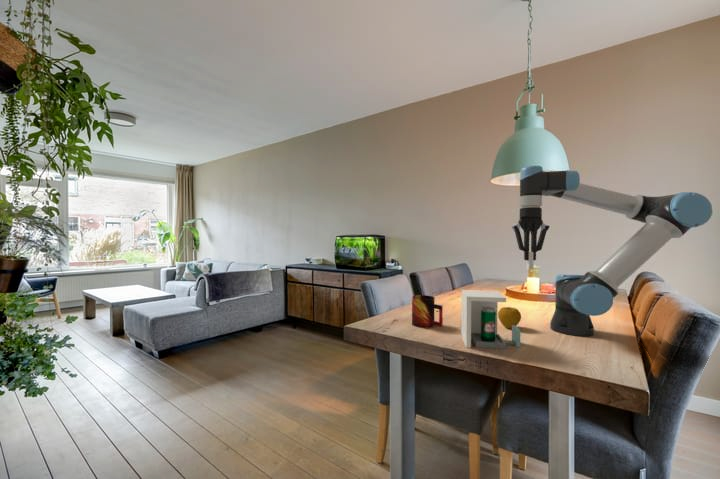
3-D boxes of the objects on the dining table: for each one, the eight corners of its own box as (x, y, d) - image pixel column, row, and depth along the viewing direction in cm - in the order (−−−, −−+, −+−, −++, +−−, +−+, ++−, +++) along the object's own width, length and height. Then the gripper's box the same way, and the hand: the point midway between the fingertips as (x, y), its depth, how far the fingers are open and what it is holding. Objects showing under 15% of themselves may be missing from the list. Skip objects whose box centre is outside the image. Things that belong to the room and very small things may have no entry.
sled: (513, 339, 123) (513, 323, 123) (522, 349, 113) (522, 332, 113) (471, 337, 126) (471, 321, 126) (476, 346, 116) (476, 330, 116)
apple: (514, 324, 144) (514, 304, 143) (525, 330, 135) (525, 309, 134) (494, 324, 143) (494, 304, 143) (503, 330, 134) (504, 309, 134)
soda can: (484, 343, 117) (484, 309, 117) (478, 338, 122) (478, 306, 122) (498, 342, 118) (498, 309, 117) (491, 338, 123) (491, 306, 122)
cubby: (496, 337, 126) (497, 291, 125) (505, 349, 113) (506, 297, 112) (461, 335, 128) (461, 290, 127) (466, 347, 115) (466, 296, 115)
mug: (442, 330, 136) (442, 301, 135) (409, 326, 141) (409, 298, 141) (445, 323, 145) (445, 296, 144) (414, 320, 150) (415, 294, 150)
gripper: (545, 207, 128) (544, 268, 128) (509, 208, 130) (509, 267, 131) (553, 206, 120) (552, 270, 121) (515, 206, 123) (514, 269, 123)
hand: (529, 268), depth 126 cm, fingers closed
